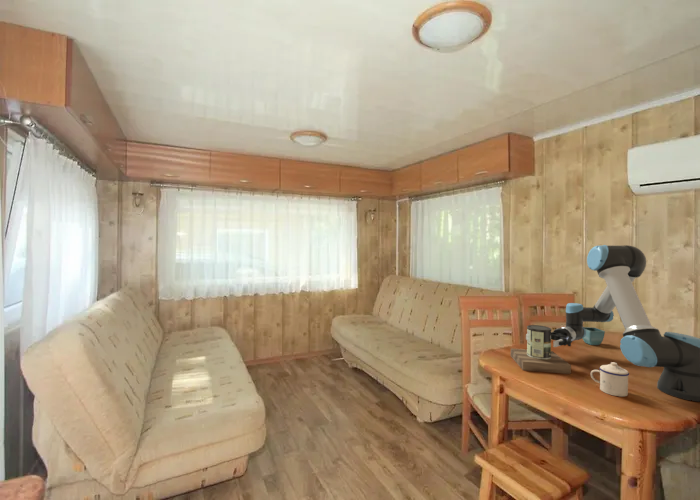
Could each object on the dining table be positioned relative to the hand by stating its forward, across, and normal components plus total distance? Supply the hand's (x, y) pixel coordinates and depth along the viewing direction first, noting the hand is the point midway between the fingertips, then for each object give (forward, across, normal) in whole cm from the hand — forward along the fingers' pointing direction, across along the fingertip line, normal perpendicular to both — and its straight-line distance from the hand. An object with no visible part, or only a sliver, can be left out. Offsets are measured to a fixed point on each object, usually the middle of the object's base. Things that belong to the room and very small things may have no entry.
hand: (539, 340), depth 160 cm
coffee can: (+1, 0, -8) cm, 8 cm away
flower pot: (-61, +5, -12) cm, 62 cm away
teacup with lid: (+5, -31, -12) cm, 34 cm away
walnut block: (+1, 0, -11) cm, 11 cm away
